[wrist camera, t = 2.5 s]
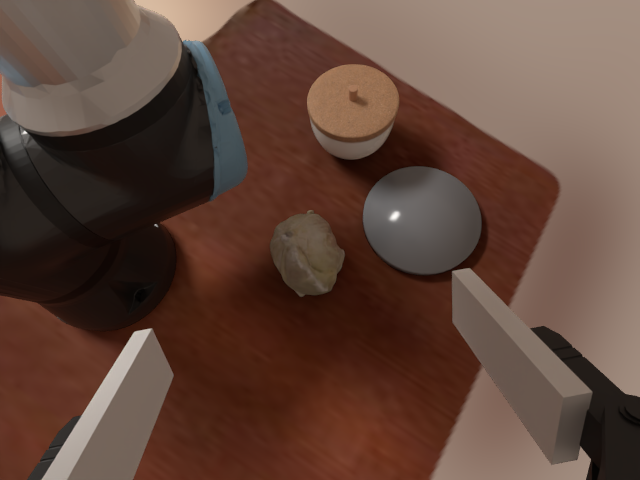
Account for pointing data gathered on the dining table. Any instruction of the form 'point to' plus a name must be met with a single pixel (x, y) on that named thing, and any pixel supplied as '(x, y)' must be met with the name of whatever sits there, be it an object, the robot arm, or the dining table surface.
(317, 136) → the lidded jar
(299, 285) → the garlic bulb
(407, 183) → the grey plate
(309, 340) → the dining table surface
